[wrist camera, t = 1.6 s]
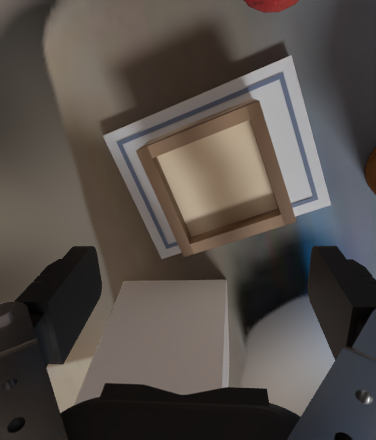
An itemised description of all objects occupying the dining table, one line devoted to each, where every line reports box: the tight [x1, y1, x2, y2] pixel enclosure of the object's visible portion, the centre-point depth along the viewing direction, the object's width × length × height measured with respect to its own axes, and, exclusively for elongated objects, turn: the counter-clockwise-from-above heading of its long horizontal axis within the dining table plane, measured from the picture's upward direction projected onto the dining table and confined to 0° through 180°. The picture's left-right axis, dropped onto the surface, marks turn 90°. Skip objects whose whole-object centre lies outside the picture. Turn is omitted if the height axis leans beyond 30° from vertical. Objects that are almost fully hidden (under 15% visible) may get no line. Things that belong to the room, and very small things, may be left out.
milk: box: [74, 280, 229, 405], centre depth 28 cm, size 12×12×26 cm
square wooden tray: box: [136, 98, 297, 257], centre depth 29 cm, size 10×10×6 cm
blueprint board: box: [103, 56, 331, 259], centre depth 32 cm, size 18×14×1 cm
